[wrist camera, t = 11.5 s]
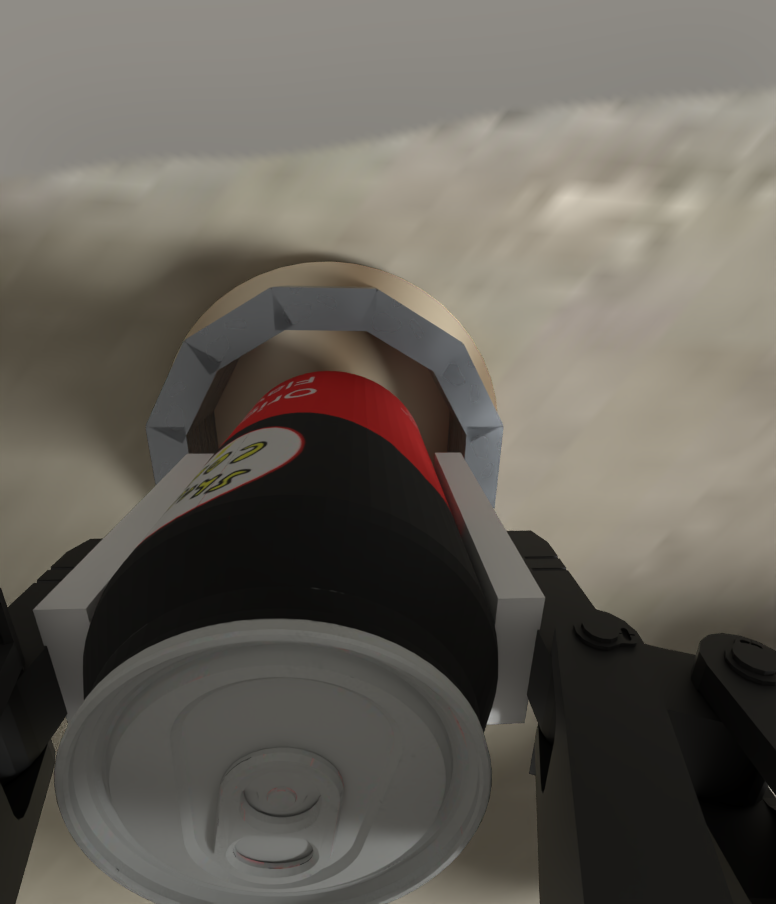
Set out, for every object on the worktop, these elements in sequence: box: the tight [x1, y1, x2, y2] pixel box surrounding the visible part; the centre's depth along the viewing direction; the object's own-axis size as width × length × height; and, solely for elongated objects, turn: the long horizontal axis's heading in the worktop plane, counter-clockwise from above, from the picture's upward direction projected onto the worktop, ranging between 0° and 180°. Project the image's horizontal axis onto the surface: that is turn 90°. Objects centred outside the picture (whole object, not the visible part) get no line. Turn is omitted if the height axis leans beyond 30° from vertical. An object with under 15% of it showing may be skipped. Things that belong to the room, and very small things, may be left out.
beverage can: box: [54, 371, 498, 904], centre depth 11 cm, size 6×6×12 cm
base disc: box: [170, 262, 497, 467], centre depth 19 cm, size 13×13×1 cm
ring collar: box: [146, 286, 503, 508], centre depth 17 cm, size 11×11×3 cm
